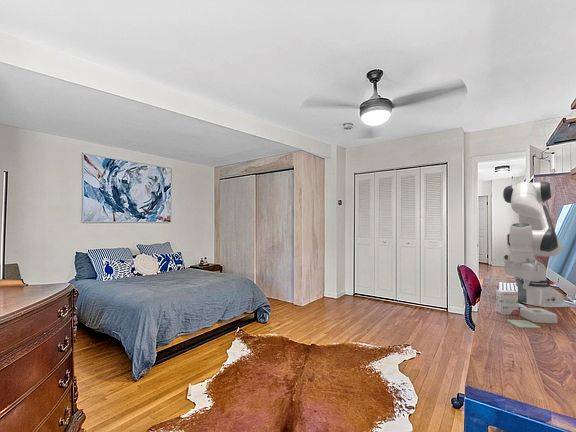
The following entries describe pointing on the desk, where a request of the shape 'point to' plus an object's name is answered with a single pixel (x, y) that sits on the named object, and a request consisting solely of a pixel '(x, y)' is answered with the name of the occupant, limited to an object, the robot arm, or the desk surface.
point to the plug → (522, 292)
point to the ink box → (507, 302)
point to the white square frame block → (538, 315)
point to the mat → (523, 324)
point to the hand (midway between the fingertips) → (522, 287)
